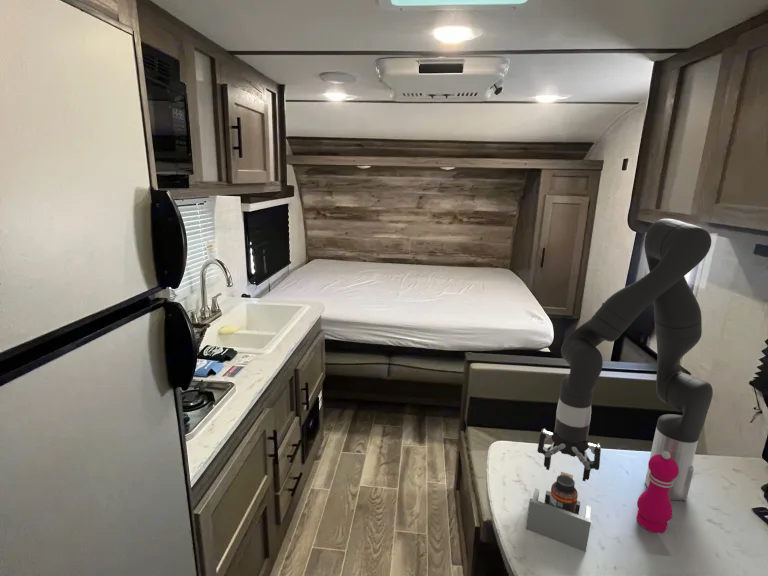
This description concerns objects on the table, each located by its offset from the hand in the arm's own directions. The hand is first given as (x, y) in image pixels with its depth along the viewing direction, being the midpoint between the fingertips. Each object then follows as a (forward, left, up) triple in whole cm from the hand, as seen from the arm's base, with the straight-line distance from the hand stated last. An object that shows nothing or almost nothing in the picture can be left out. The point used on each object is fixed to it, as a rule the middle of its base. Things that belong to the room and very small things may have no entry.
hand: (565, 473), depth 108 cm
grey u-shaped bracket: (0, +8, -9) cm, 12 cm away
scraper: (0, -1, -9) cm, 9 cm away
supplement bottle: (0, +7, -9) cm, 11 cm away
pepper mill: (-20, -3, -9) cm, 22 cm away
